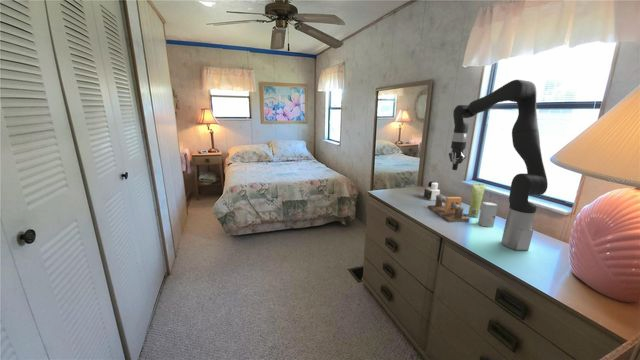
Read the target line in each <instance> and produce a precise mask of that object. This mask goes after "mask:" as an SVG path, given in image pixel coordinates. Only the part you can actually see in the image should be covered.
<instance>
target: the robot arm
mask: <svg viewBox="0 0 640 360" xmlns="http://www.w3.org/2000/svg"><path fill="white" fill-rule="evenodd" d="M507 101H508V102H512V103H517V104H516V105H517V109H518V111H517V112H518V113H517V114H518V115H517V118H516V120H515V123H514V124H513V126H512V129H511V138H512V139H511V140H512V146H513V148H514V150H515V151H516V152H517V154H518V156H519V157H520V158H521V160H522V161H523V162H524V164H525V168H526V173H517V174H516V175H514V176H513V178H512V181H511V183H510V189H509V197H508V202H509V205H508V206H509V207H508V211H507V214H506V220H505V223H504V229H503V232H502V233H503V234H502V236H501V237H502V238H501V244H502V245H503V246H505V247H506V248H509V249H512V250H515V251H529V250H530V245H531V241H532V238H533V233H534V229H532V228H533V223H534V219H535V215H536V212H537V205H536V204H534V203H532V202H530V201H529V196H542V195H544V194H545V193H546V192H547V190H548V178H547V173H546V169H545V166H544V162H543V156H542V151H541V150H542V149H541V141H540V140H541V139H540V138H541V137H540V132H539V125H538V114H537V86H536V84H535V83H534V82H532V81H529V80H523V79H514V80H511V81H508V82H507V83H505V84H504V85H502V86H501V87H499V88H497V89H495V90H494V91H492V92H491V93H489V94H487V95H485V96H482V97H479V98H477V99H476V100H475V99H474V100H473V101H471V102H469V105H468V104H460V105H456V106H455V107H454V110H453V115H452V116H453V122H454V123H453V124H454V128H453V134H452V138H451V144H450V148H451V152H449V153H448V156H449V160H450V162H451V163H452V167H451V170H453V171H457V170H458V167H459V164H460V165H461V164H462V163H463V161H465V159H466V158H467V157H466V155H464V151H465V149H466V147H467V141H468V131H469V123H468V122H465V121H464V119H469V118H473V117H474V116H476V115H478V114H480V113H482V112H485V111H488V110H490V109H491V108H492V107H494V106H495V104H498V103H502V102H507Z"/></svg>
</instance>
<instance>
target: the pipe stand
mask: <svg viewBox="0 0 640 360" xmlns="http://www.w3.org/2000/svg"><path fill="white" fill-rule="evenodd" d="M445 202H446V197H444V196H443V195H441V194H440V195H437V196H436V200H435V204H433V205H432V204H431V205H430V204H429V205H428V206H427V208H428V209H429V210H430V211H432V212H433V213H435V214H437V215H438V216H439V217H441V218H442V219H444V220H445V221H447V222H448V223H452V222H453V223H456V222H457V223H459V222H470V218H469V217H467V216H465V215H463V211H464V207H463V206H459V205H457V204H455V203H451V208H453V209H455V212H454V213H446V212H445V211H444V209H445ZM443 203H444V204H443Z"/></svg>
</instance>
